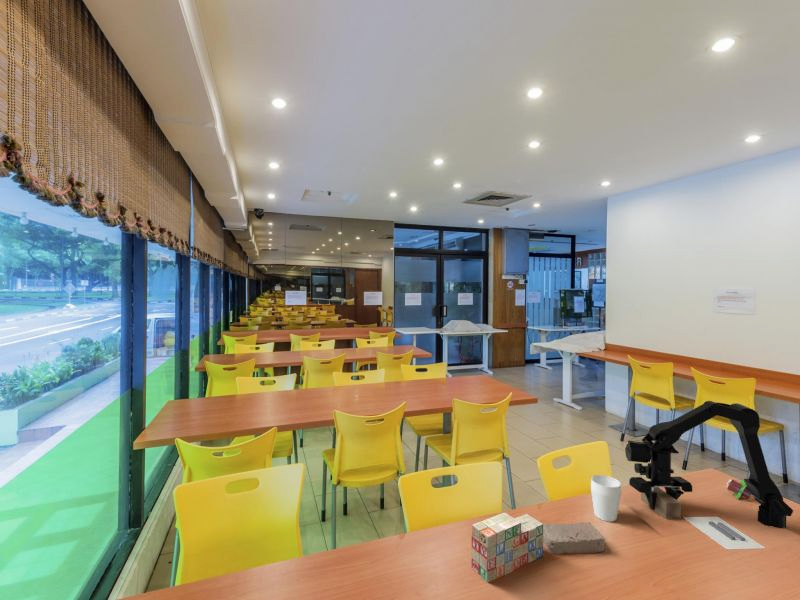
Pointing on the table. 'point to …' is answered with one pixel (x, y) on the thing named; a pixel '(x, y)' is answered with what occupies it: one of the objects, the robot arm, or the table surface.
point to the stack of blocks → (505, 544)
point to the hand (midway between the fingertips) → (660, 509)
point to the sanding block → (665, 504)
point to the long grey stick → (731, 531)
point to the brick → (572, 538)
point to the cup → (605, 497)
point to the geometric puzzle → (738, 489)
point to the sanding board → (720, 538)
